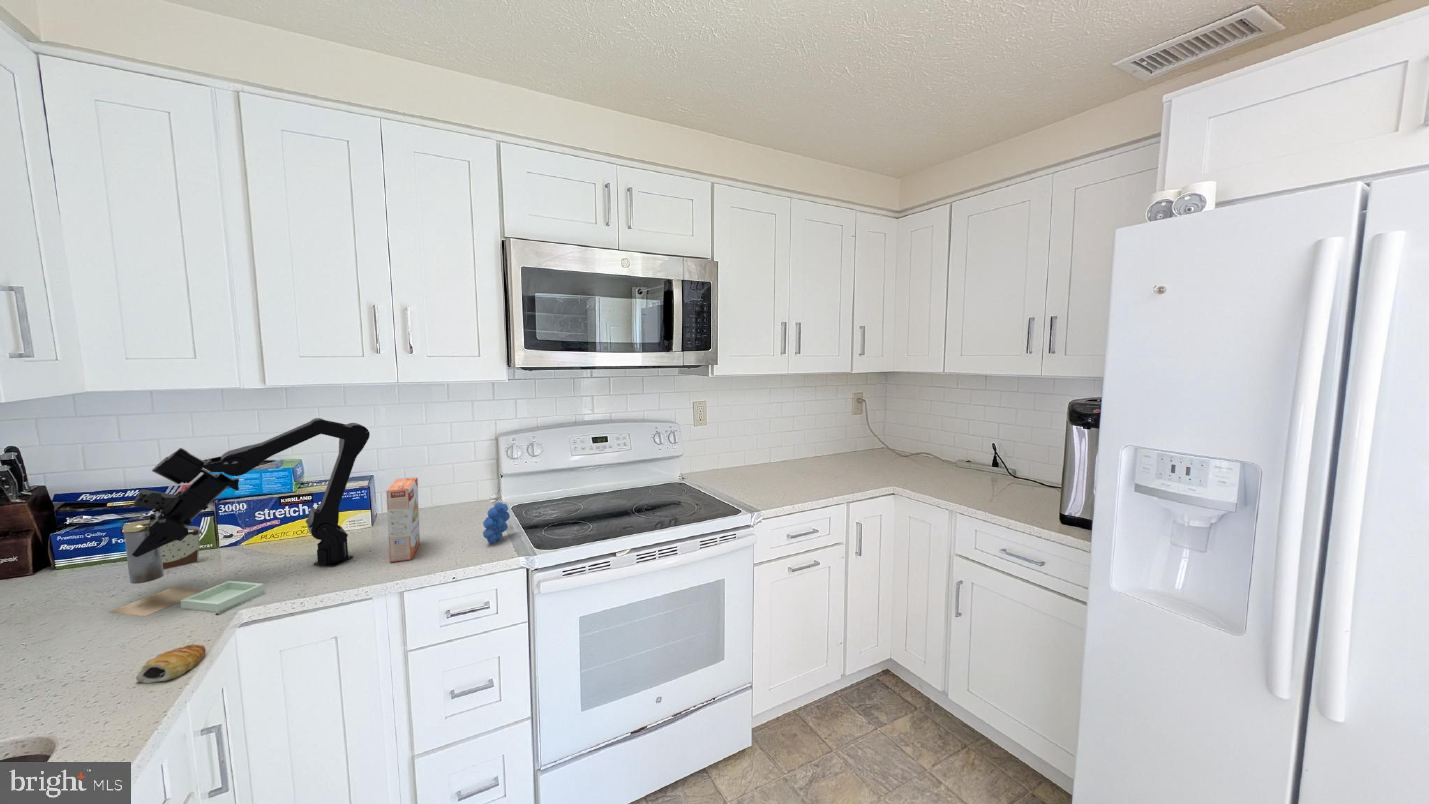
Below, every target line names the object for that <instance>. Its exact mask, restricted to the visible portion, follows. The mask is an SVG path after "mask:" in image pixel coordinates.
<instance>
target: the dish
mask: <svg viewBox="0 0 1429 804" xmlns="http://www.w3.org/2000/svg"><path fill="white" fill-rule="evenodd" d="M263 595H265V584H264V583H259V582H258V583H257V582H250V581H249V582H247V581H236V580H227V581H225V582H222V583H220V584H217V585H215V586H212V587H211V588H208V589H207V588H206V589H205V591H202V592H200V593H198V594H195V595H193V596H190V597H188V598H185V599H183V600H181V602H180V609H182V610H190V611H191V610H192V611H200V612H210V613H215V614H214V615H217V616H218V615H219V616H220V615H221V614H224V613H226V612H228V611H230V610H233V609H234V607H235V608H237V607H239V606H242V605H243V604H245V602H246V603H247V601H248V602H250V601H252V600H254V599H256V598H258V597H261V596H263ZM253 598H254V599H253ZM251 599H252V600H251ZM242 603H243V604H242ZM238 605H239V606H238ZM236 606H237V607H236ZM232 608H233V609H232Z"/></svg>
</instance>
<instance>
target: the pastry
mask: <svg viewBox="0 0 1429 804" xmlns="http://www.w3.org/2000/svg"><path fill="white" fill-rule="evenodd" d="M205 655H206V647H205V646H204V645H200V644H187V645H184V646H181V647H177V648H174V649H171V650H170V651H165V652H163V653H160V654H157V656H156V657H154V658H152V659H150V660H147V661H146V663H145V664H144V665H143V666H142V667H141V669H140V670H139V672H138V674H136V677H135V680H136V682H137V681H138V682H139V683H140V682H143V683H142V684H150V683H157V682H167V681H170V680H174V679H177V678H179V677H180V676H183V675H184V674H186V672H188V671H189V670H192V669H193V668H195V666H197V665H198V664H199V663H200V662H202V660H203V658H205Z"/></svg>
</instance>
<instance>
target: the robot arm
mask: <svg viewBox="0 0 1429 804" xmlns="http://www.w3.org/2000/svg"><path fill="white" fill-rule="evenodd" d="M318 435H319V436H320V435H324V436H328V437H332V438H335V439H336V438H337V439H339V440H338V454H337V455H338V456H337V457H336V460H335V464H334V465H333V469H332V472H331V474H330V477H329V479H328V483H327V485H326V488H325V491H324V494H323V497H322V500H321V502H320V504H319V505H318V506H317V507H316V508H314V507H310V508H309V515H308V517H307V518H306V520H305V523H306V525H307V529H308V531H309V533H310V534H311V536H312V537H313V539H316V540H319V542H318V543H317V549H316V556H317V559H316V560H317V561H315V562H314V563H313V565H314V566H320V567H321V566H323V567H336V566H338V565H340V564H342V563H344V562H346V561H349V560H350V559H353V558H354V555H352V554H351V555H350V554H349V550H348V547H349V546H348V536H349V535H348V534H349V533H347V531H346V530H344V528H343V527H342V526H341V525H339V520H340V516H339V515H340V504H341V501H342V499H343V496H344V493H345V490H346V489H347V485H348V481H349V479H350V477H351V473H352V470H353V467H354V464H355V462H356V459H357V457H358V455H360V453H361V452H362V451H363V449H364V448H365V446H366V444H367V443H368V441H369V439H370V431H369V430H368V428H367V427H366V426H364V425H363V424H360V423H357V422H350V423H347V424H345V423H342V422H341V423H340V422H336V421H332V420H326V419H323V418H319V417H315V418H313V419H312V420H309V421H308V422H306V423H304V424H301V425H299V426H296V427H294V428H292V429H290V430H288V431H285V432H282V433H280V434H278V435H275V436H273V437H271V438H269V439H267V440H264V441H262V442H258V443H255V444H249V445H246V446H241V447H238V448H236V449H232V450H231V449H230V450H228V451H227V452H224V453H223V454H222V455H221V456H216V457H211V458H210V457H209V458H207V459H201V458H199V457H197V456H195V455H194V454H191V452H189V451H187V450H186V449H184V448H182V447H180V448H178V449H177V450H176V451H174V452H173V453H171V454H169V456H166V457H164V458H163V459H162V460H161V461H160V462H158V464H156V465H155V466H154V468H152V470H151V472H153V473H155V474H157V475H159V476H161V477H162V478H165V479H167V480H168V481H170V482H173V483H175V484H176V485H181V484H184V485H185V484H189V483H191V482H192V481H193V482H192V483H191V484H189V485H188V487H187V488H185V489H183V490H179V491H177V492H176V493H175V494H171V493H167V492H161V491H156V490H150V489H149V490H148V489H140V491H139V493H138V494H137V496H136V498H135V500H134V501H133V504H132V506H133V507H134V508H139V509H142V508H146V509H151V510H152V511H151V512H152V513H150V515H149V520H154V521H153V522H152V523H151V524H150V523H149V526H148V528H149V534H148V535H147V536H146V538H145V539H144V540H143V541H142V543H141V544H140V545H139V546H138V547H137V549H136V550H135V551H134V552H133V554H132V556H135V557H139V556H141V555H143V554H145V553H148V552H150V551H152V550H154V549H156V548H159V547H161V546H163V545H166V544H168V543H170V542H173V541H176V540H178V541H182V540H183V539H184V538H185V537H186V536H187V535H188V526H191V524H192V523H193V520H194V519H195V518H196V517H197V516H198V515H199V514H200V513H201V512H202V511H204V512H205V511H206V510H207V509H209V505H210V504H212V503H213V501H214V500H216V499H217V498H218V497H219V496H220V495H221V494H222V493H223V492H225V491H226V489H228V488H230V489H233V490H234V491H239V490H240V486H239V482H240V478H239V477H240V476H242V475H243V476H244V475H246V474H247V473H249V472H250V471H252V470H253V469H255V468H257V466H259V465H261V464H262V463H263V462H264V461H265V460H267V459H269V458H271V457H272V456H274V455H277V454H278V453H279V454H280V453H281V452H284V451H286V450H288V449H290V448H293V447H294V446H296V445H299V444H301V443H303V442H305V441H308V440H309V439H312V438H315V437H316V436H318ZM215 473H217V474H215ZM200 474H201V475H200ZM199 475H200V476H199ZM198 476H199V477H198ZM229 476H230V477H229ZM197 477H198V478H197ZM231 477H235V478H231ZM153 513H154V514H153Z"/></svg>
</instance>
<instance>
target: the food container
mask: <svg viewBox="0 0 1429 804" xmlns="http://www.w3.org/2000/svg"><path fill="white" fill-rule="evenodd" d="M203 534H204V533H203V531H202V529H200V527H199V526H194V525H192V526H191V525H188V535H187V536H186V537H185V538H184V539H183V540H182V541H178V540H176V541H173V542H170V543H168V544H166V545H163V546H161V553H162V562H163V571H164V570H168V569H172V568H176V567H177V568H178V567H180V566H186V565H190V564H193V563H199V555H200V553H199V551H200V537H201V536H200V535H203Z"/></svg>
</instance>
